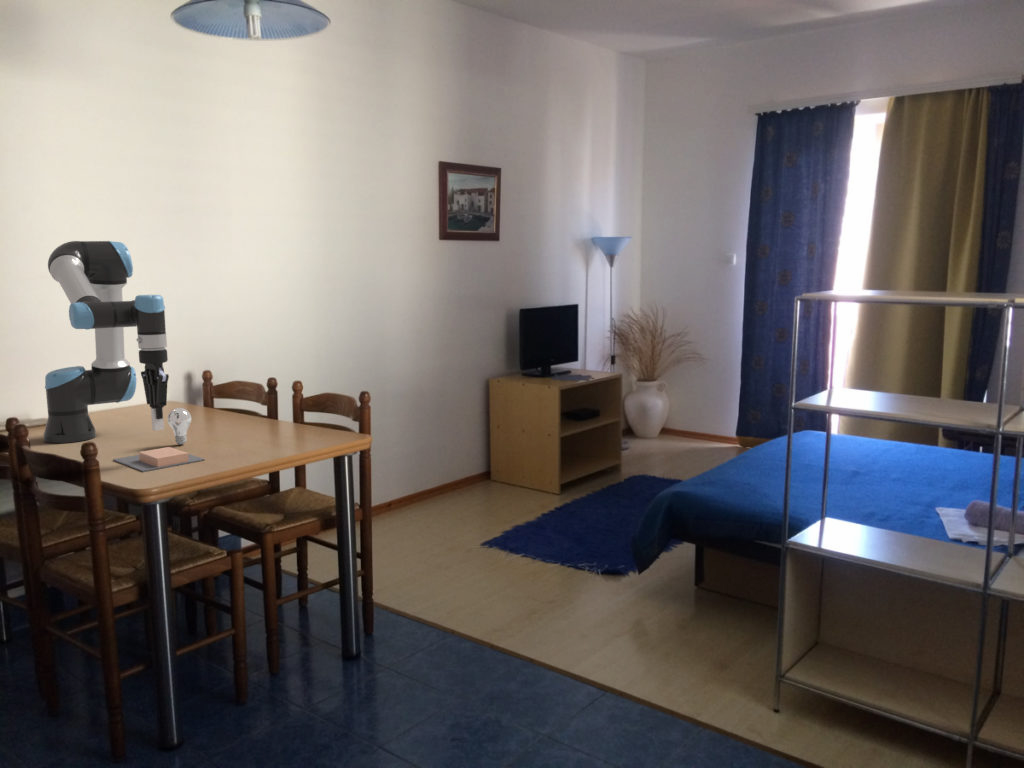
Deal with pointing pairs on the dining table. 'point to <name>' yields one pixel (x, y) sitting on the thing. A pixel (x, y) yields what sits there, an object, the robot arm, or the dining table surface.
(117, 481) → the dining table surface
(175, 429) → the light bulb
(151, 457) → the tile
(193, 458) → the mat
